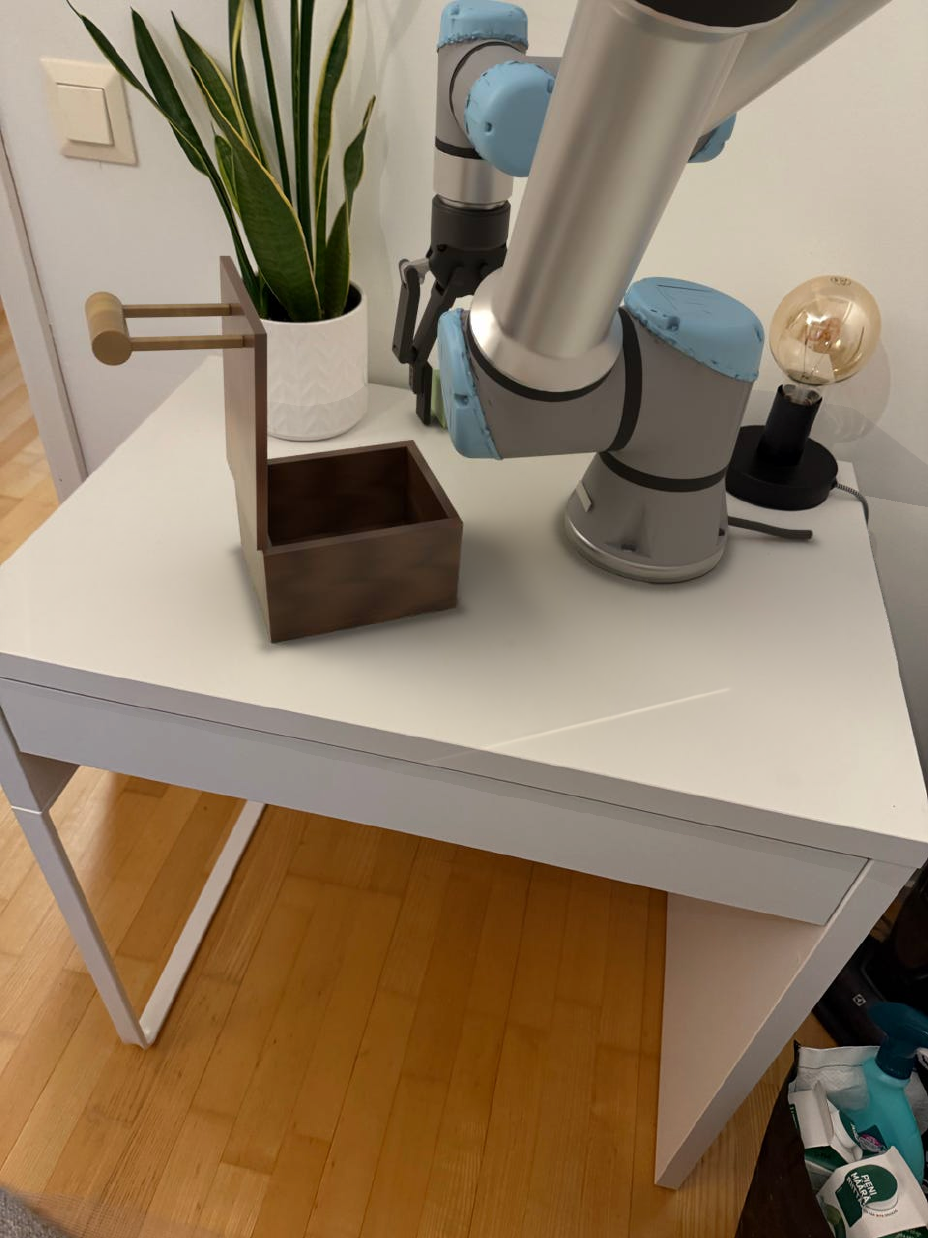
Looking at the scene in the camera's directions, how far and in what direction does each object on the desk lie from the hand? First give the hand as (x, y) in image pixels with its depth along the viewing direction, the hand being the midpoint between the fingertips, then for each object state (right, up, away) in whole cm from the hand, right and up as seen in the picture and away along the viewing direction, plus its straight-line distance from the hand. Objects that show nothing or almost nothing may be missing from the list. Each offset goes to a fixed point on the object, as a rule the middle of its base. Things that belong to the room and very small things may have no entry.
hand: (457, 413), depth 103 cm
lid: (-15, -7, -36) cm, 39 cm away
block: (0, 0, 0) cm, 0 cm away
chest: (-9, -19, -22) cm, 31 cm away
